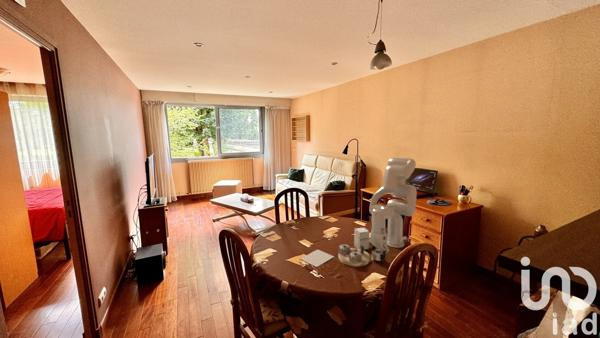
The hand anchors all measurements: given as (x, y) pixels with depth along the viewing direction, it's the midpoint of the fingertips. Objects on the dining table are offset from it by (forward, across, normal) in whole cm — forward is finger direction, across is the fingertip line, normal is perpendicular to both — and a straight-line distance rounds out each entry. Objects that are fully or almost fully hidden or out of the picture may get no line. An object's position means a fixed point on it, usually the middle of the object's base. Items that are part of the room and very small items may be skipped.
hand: (378, 256), depth 144 cm
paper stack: (+2, +13, +34) cm, 37 cm away
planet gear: (+1, 0, 0) cm, 1 cm away
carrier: (+2, +8, +12) cm, 15 cm away
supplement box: (+3, +18, -2) cm, 18 cm away
